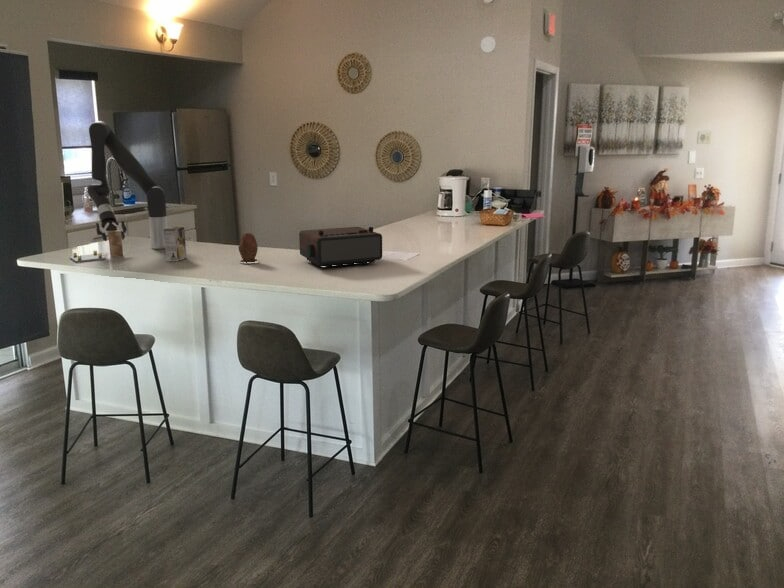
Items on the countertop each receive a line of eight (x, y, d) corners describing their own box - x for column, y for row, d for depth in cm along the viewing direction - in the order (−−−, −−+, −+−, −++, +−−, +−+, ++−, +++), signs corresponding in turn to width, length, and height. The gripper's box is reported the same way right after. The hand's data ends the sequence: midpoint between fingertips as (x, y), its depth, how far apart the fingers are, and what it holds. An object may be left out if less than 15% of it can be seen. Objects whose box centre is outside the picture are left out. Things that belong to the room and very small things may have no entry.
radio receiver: (313, 272, 311) (312, 233, 306) (295, 262, 334) (293, 225, 330) (382, 265, 326) (382, 228, 321) (360, 256, 349) (359, 221, 345)
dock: (99, 255, 351) (98, 249, 350) (106, 259, 340) (105, 253, 339) (69, 258, 343) (69, 252, 342) (76, 262, 332) (75, 256, 331)
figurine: (239, 262, 336) (239, 231, 334) (260, 262, 337) (259, 232, 335) (237, 264, 327) (236, 233, 325) (258, 264, 328) (257, 233, 326)
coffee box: (175, 258, 344) (172, 226, 340) (187, 258, 343) (184, 226, 339) (166, 261, 335) (163, 229, 331) (177, 262, 334) (175, 229, 330)
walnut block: (120, 254, 353) (118, 229, 350) (123, 256, 349) (120, 231, 346) (110, 255, 350) (107, 230, 347) (113, 257, 346) (110, 231, 343)
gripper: (92, 211, 347) (100, 236, 341) (121, 209, 355) (130, 233, 349) (91, 220, 353) (99, 245, 346) (119, 218, 361) (127, 242, 355)
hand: (114, 239), depth 348 cm, fingers open, 8 cm apart
